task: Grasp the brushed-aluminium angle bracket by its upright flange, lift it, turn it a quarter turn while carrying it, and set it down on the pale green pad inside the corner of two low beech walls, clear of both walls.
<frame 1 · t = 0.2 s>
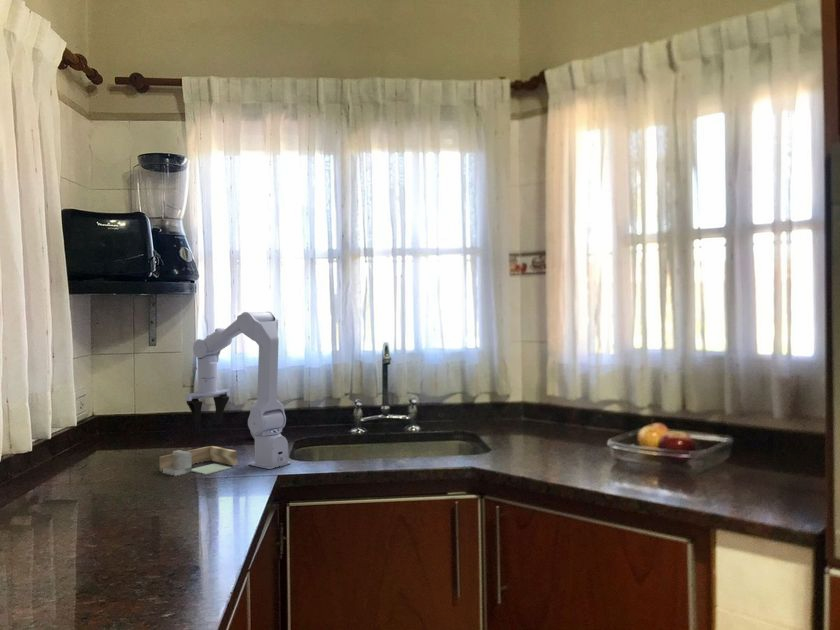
hand: (208, 421, 195), 10 cm above the worktop, tool pointing down, fingers open, 7 cm apart
pad: (210, 469, 175), on the worktop
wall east: (186, 465, 180), on the worktop
salt shaker: (259, 438, 217), on the worktop
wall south: (223, 462, 183), on the worktop
bracket: (177, 472, 173), on the worktop
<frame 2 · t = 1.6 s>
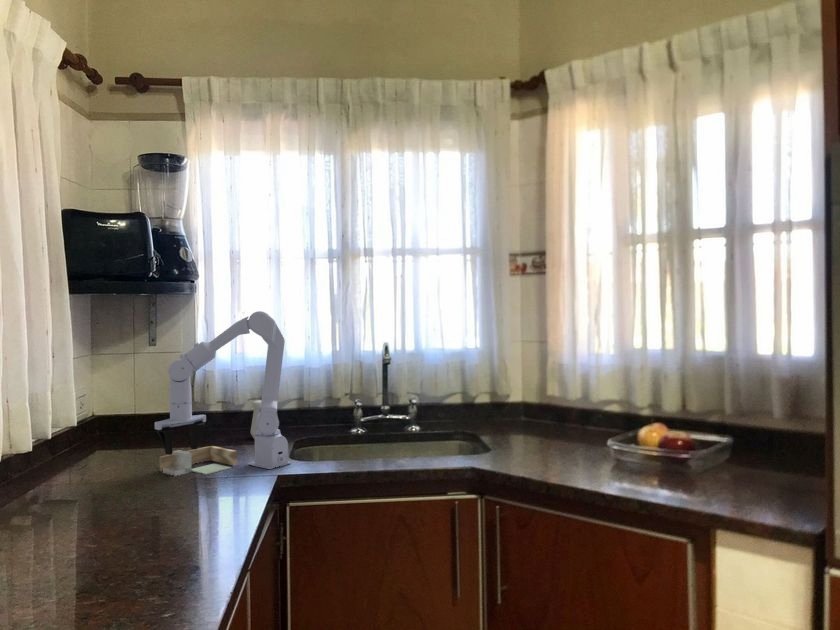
hand: (181, 451, 174), 6 cm above the worktop, tool pointing down, fingers open, 7 cm apart
nothing on the worktop moved.
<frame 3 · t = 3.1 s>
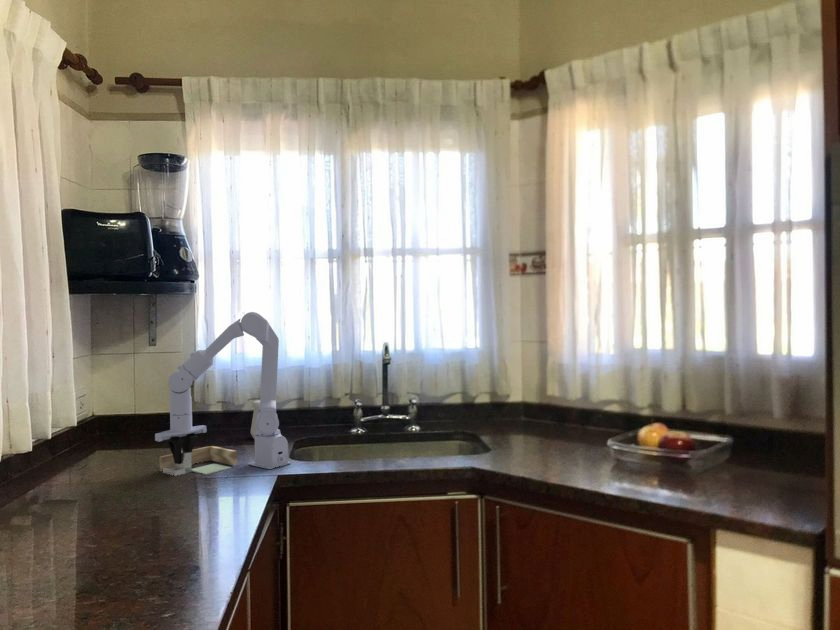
hand: (182, 462, 174), 2 cm above the worktop, tool pointing down, fingers closed on bracket
bracket: (177, 472, 173), on the worktop, touching gripper
everything else where it was.
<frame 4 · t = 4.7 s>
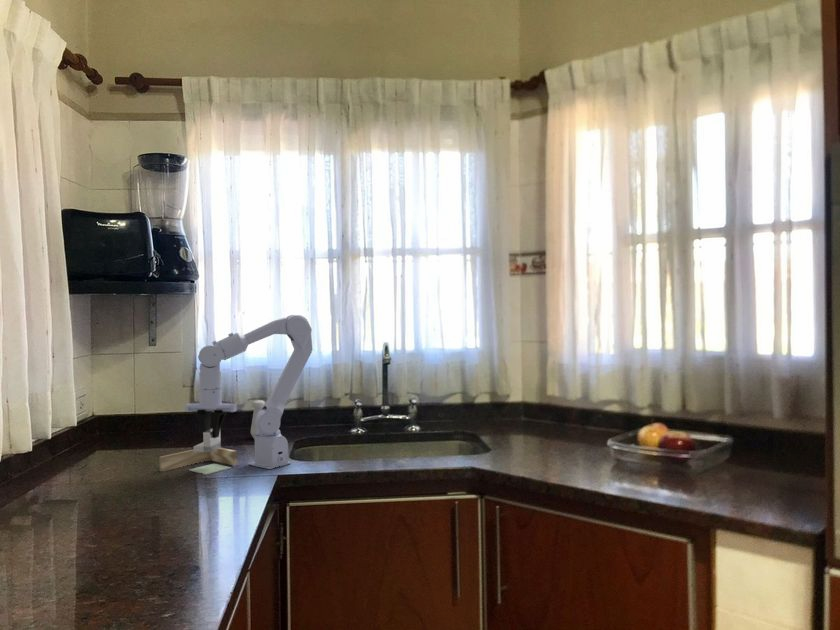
hand: (211, 437, 174), 9 cm above the worktop, tool pointing down, fingers closed on bracket
bracket: (207, 449, 175), point 6 cm above the worktop, touching gripper
everything else where it was.
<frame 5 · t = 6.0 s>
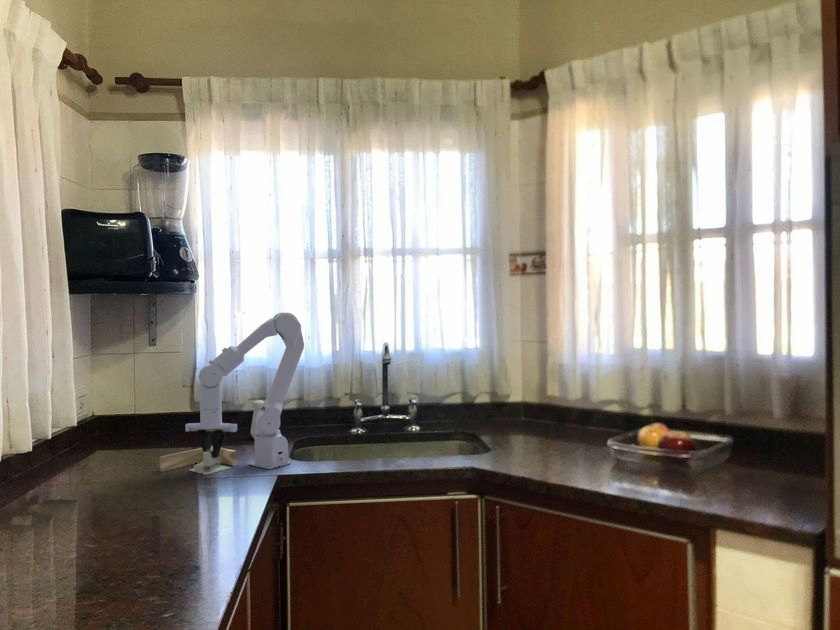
hand: (211, 457, 175), 4 cm above the worktop, tool pointing down, fingers closed on bracket
bracket: (207, 468, 175), resting on pad, touching gripper
everything else where it was.
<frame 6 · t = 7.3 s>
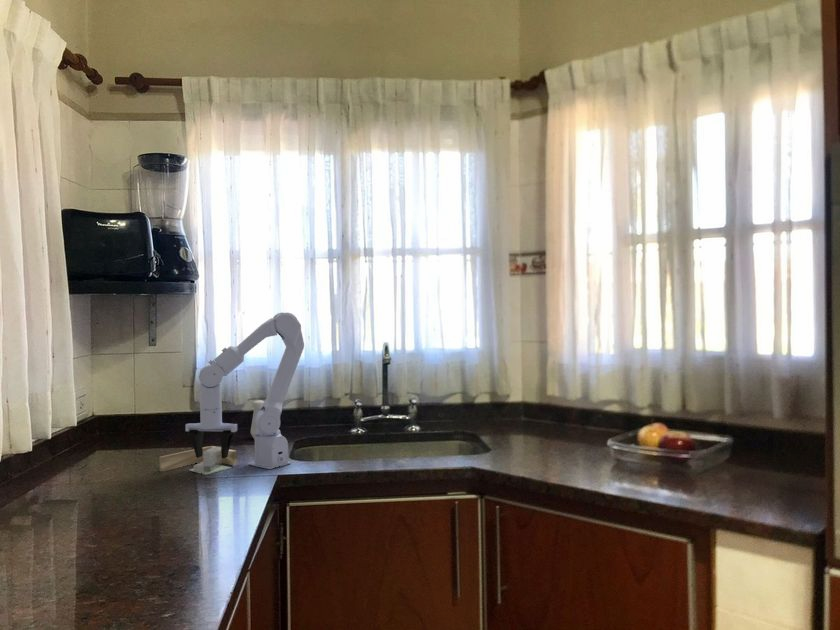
hand: (212, 457, 175), 4 cm above the worktop, tool pointing down, fingers open, 7 cm apart
bracket: (207, 468, 175), resting on pad
everything else where it was.
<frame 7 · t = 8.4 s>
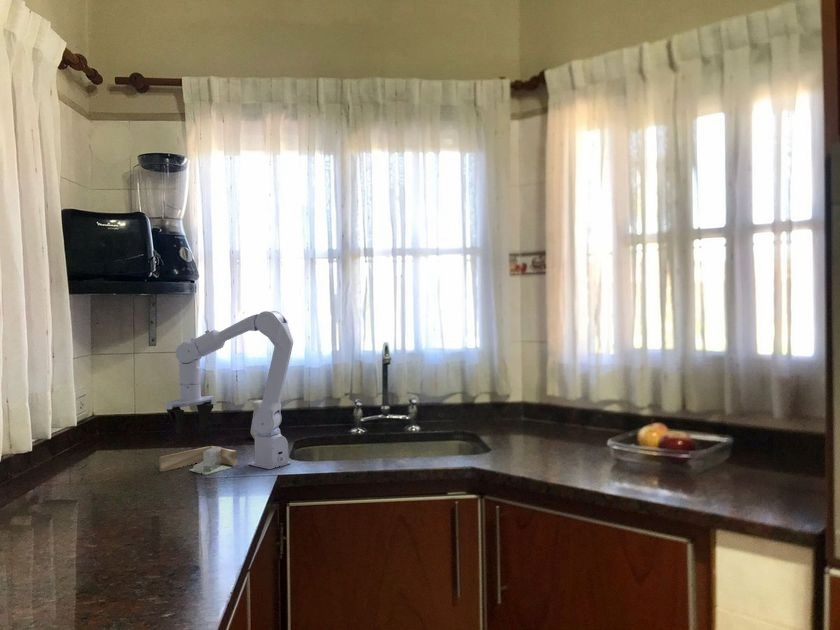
hand: (191, 430, 181), 10 cm above the worktop, tool pointing down, fingers open, 7 cm apart
nothing on the worktop moved.
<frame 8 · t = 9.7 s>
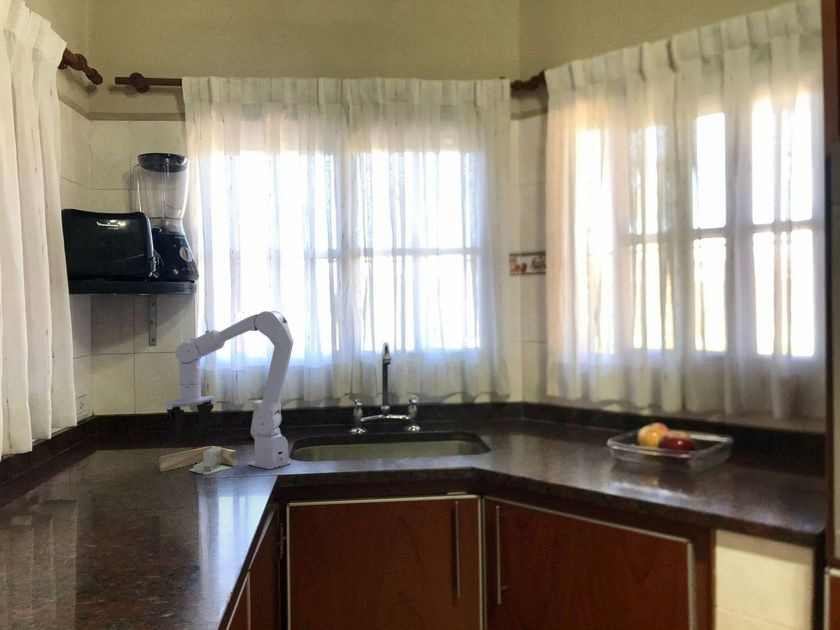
hand: (191, 430, 181), 10 cm above the worktop, tool pointing down, fingers open, 7 cm apart
nothing on the worktop moved.
at the end: bracket 0.7 cm off-centre on the pad, point 0.3 cm above the pad's base; bracket tilted 0°; the gripper is holding nothing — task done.
